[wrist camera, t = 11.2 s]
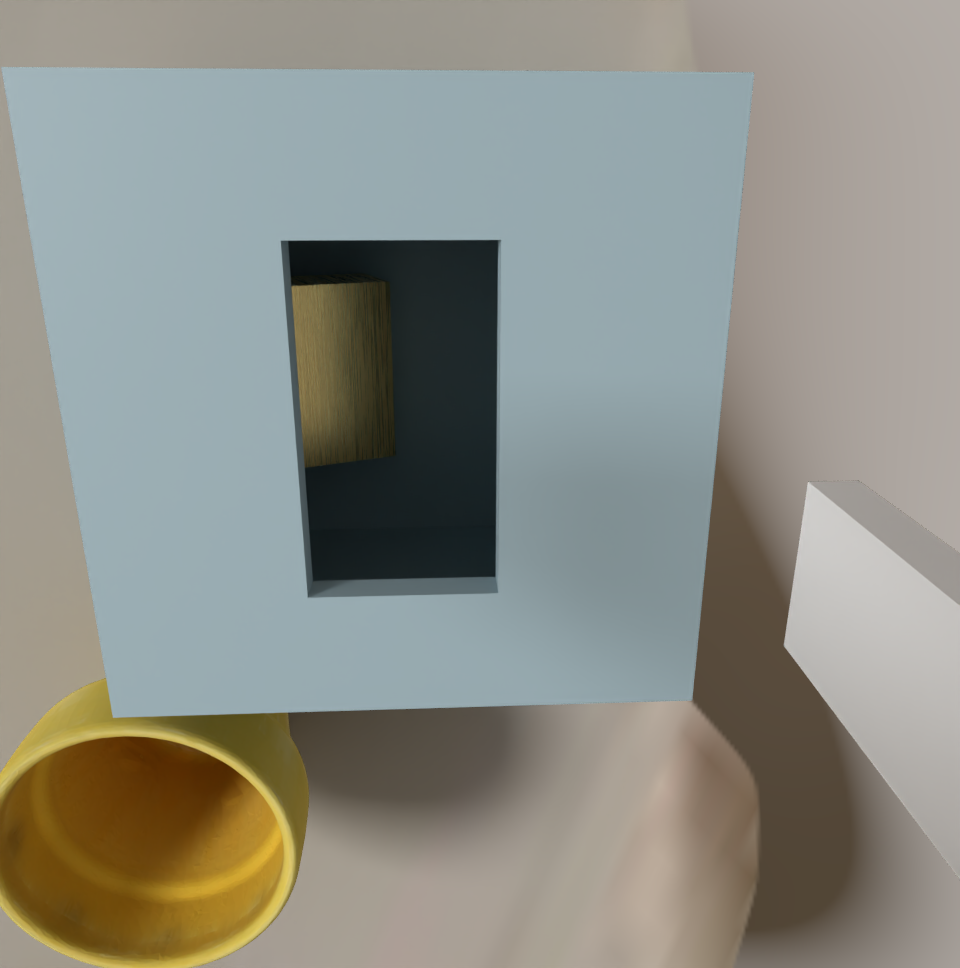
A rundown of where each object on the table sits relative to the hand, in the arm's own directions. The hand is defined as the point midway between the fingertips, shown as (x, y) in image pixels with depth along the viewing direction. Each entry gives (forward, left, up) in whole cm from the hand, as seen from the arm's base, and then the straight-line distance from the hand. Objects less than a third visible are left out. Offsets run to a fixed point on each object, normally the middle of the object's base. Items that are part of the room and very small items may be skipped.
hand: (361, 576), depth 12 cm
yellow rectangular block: (+1, -1, -19) cm, 19 cm away
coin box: (0, 0, -21) cm, 21 cm away
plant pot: (+15, -9, -21) cm, 28 cm away
